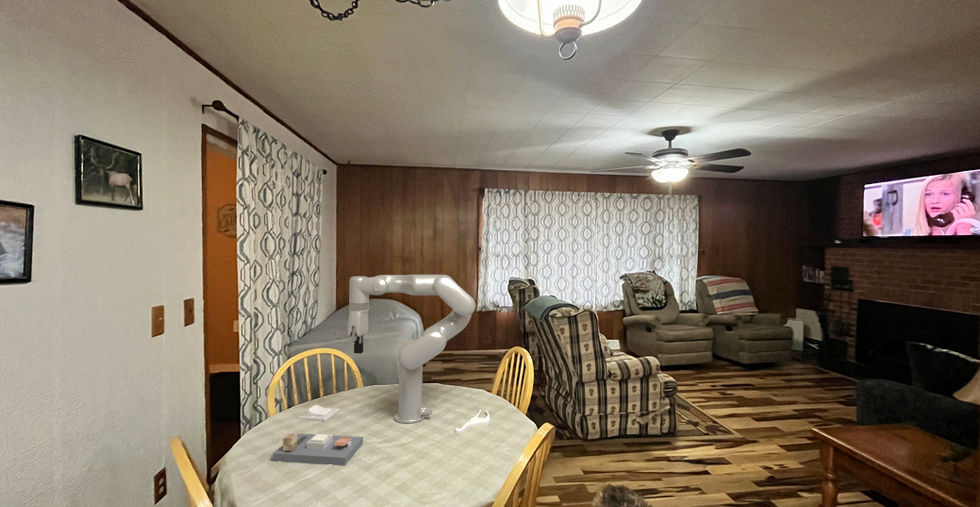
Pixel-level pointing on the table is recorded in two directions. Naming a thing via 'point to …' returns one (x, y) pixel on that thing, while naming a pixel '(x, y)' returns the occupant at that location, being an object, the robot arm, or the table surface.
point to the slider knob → (290, 442)
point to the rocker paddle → (343, 441)
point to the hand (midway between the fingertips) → (358, 352)
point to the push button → (320, 438)
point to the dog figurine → (474, 422)
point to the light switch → (319, 413)
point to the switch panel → (319, 450)
